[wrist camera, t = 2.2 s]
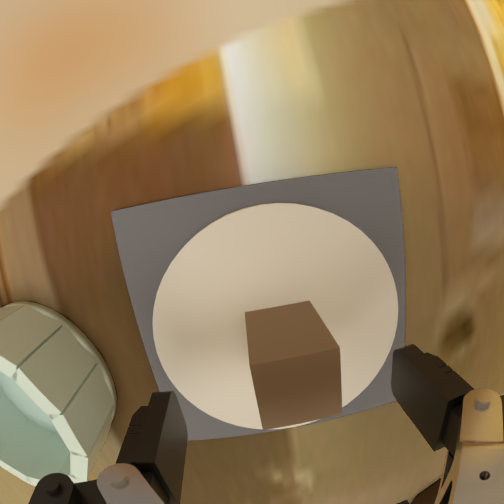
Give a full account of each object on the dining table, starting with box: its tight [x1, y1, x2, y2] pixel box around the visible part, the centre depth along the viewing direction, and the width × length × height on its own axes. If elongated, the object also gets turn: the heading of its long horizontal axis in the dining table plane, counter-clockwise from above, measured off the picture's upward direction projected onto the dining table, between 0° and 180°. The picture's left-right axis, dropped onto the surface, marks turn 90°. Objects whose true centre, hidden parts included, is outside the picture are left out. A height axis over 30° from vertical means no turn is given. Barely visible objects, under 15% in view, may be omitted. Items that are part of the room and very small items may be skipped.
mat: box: [111, 167, 406, 441], centre depth 17 cm, size 15×15×1 cm
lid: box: [152, 203, 398, 430], centre depth 14 cm, size 13×13×6 cm
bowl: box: [0, 301, 117, 486], centre depth 14 cm, size 11×11×6 cm
